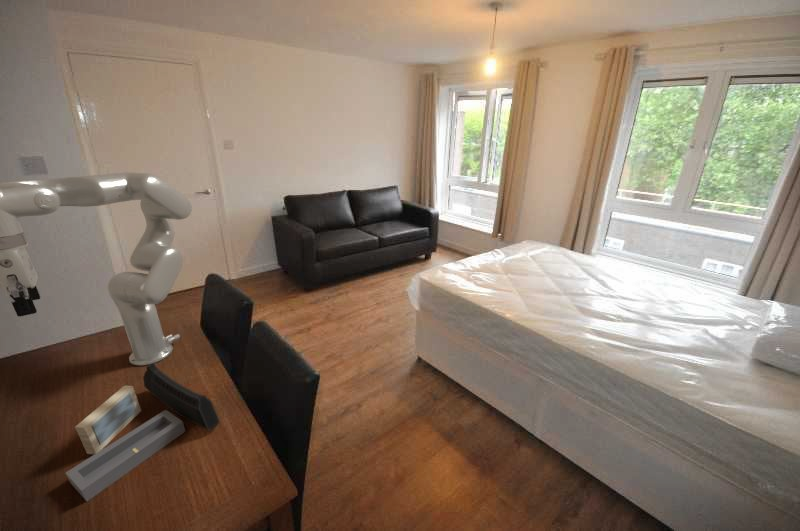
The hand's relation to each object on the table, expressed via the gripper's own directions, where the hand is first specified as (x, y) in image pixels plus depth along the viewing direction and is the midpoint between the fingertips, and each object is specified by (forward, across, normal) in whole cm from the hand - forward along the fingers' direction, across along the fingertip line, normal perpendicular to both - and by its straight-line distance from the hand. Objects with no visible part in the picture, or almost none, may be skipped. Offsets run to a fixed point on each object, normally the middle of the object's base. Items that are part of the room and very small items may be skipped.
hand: (30, 307), depth 84 cm
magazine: (+33, -20, -24) cm, 45 cm away
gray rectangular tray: (+33, -30, -12) cm, 46 cm away
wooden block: (+33, -18, -9) cm, 38 cm away
